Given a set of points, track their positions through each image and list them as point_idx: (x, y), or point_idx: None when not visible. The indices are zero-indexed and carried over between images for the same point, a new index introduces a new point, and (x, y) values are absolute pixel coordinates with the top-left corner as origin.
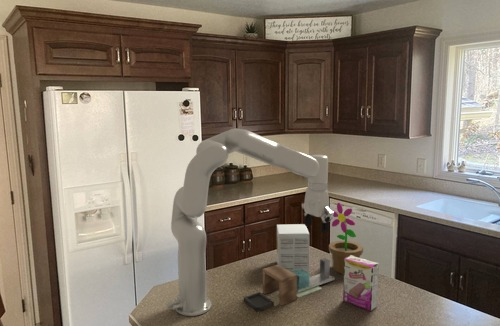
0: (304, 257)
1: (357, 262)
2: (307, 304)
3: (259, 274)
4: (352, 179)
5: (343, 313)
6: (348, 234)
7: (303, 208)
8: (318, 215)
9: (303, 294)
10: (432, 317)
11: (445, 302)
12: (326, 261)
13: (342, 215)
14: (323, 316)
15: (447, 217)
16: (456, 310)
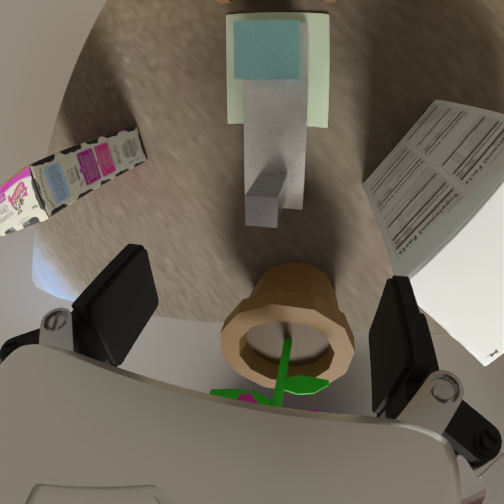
0: (386, 193)
1: (5, 184)
2: (177, 19)
3: (467, 43)
4: None
5: (95, 84)
6: (261, 398)
7: (495, 458)
8: (27, 356)
9: (229, 38)
10: (43, 233)
11: (75, 293)
12: (245, 205)
13: None
14: (109, 29)
15: None
16: (54, 280)
